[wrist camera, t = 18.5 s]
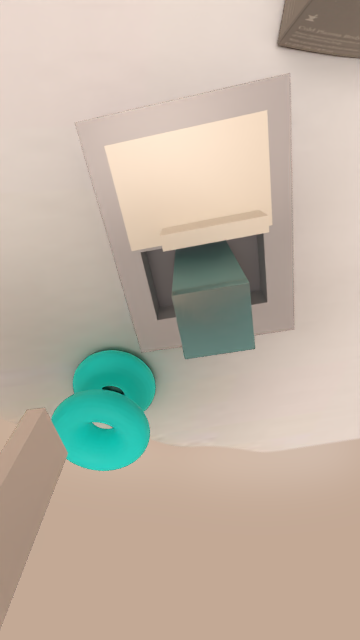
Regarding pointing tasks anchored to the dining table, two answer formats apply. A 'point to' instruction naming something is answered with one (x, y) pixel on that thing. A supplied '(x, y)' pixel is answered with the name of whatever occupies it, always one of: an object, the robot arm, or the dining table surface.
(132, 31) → the dining table surface
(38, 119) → the dining table surface
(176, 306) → the green rectangular box
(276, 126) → the socket plate
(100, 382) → the donuts
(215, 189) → the shutter
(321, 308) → the dining table surface
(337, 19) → the skincare box
